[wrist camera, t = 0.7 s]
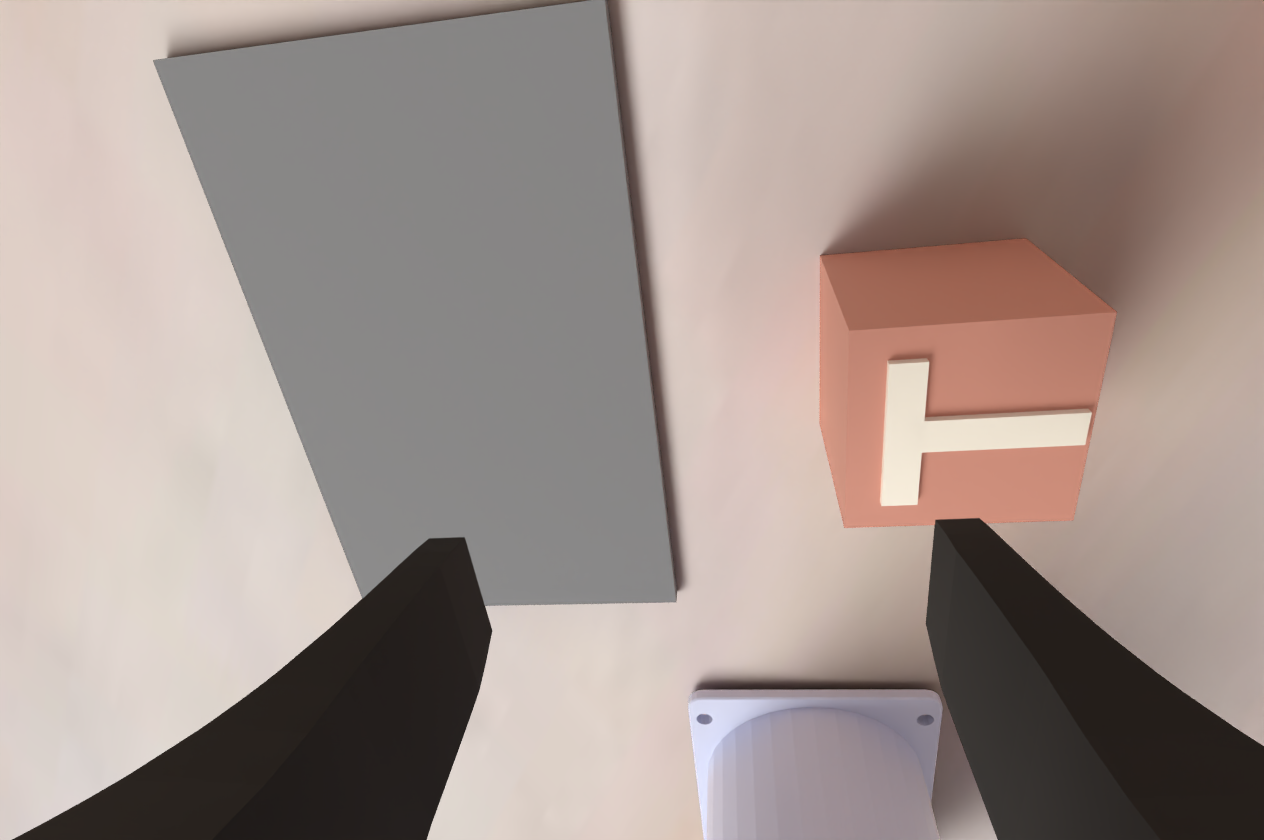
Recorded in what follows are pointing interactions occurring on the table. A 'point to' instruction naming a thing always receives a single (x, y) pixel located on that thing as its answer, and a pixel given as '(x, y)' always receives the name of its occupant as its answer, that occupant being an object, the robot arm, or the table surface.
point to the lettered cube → (958, 383)
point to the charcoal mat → (449, 290)
